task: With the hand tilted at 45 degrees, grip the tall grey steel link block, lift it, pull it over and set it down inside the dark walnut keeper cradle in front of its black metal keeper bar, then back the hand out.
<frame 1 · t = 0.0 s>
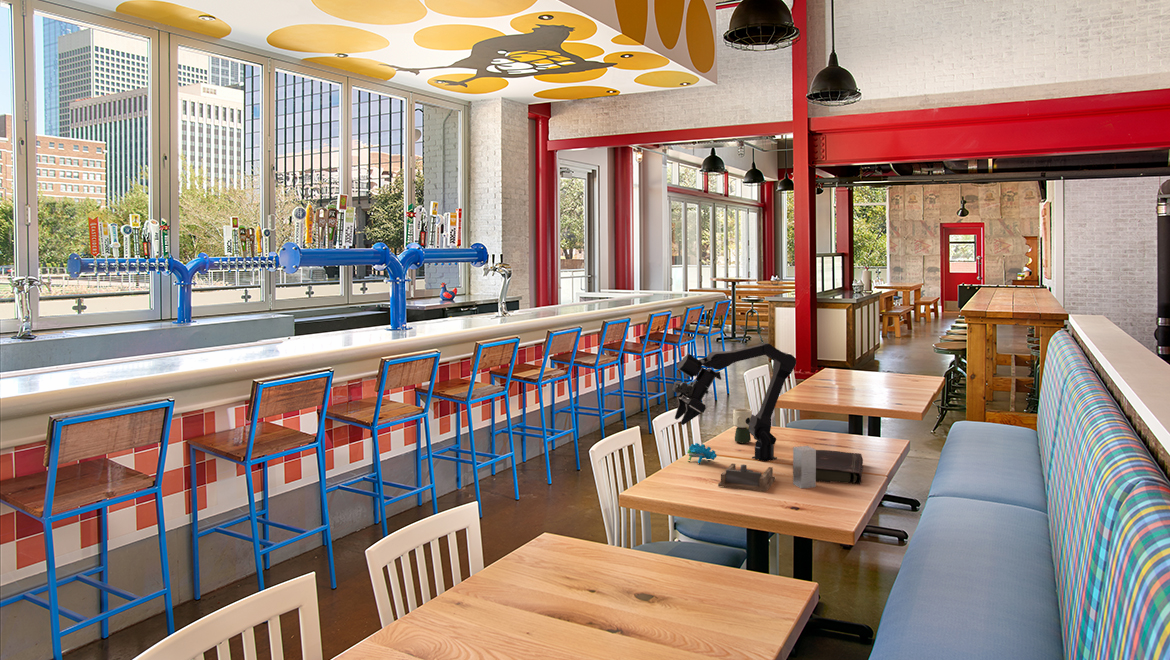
hand: (678, 421, 269), 15 cm above the table, tool tilted 35°, fingers open, 9 cm apart
keeper cradle: (747, 483, 245), on the table
steel link block: (804, 485, 241), on the table
blue spiky toy dinosaur: (701, 462, 271), on the table
diary: (832, 474, 255), on the table
character mug: (742, 443, 299), on the table
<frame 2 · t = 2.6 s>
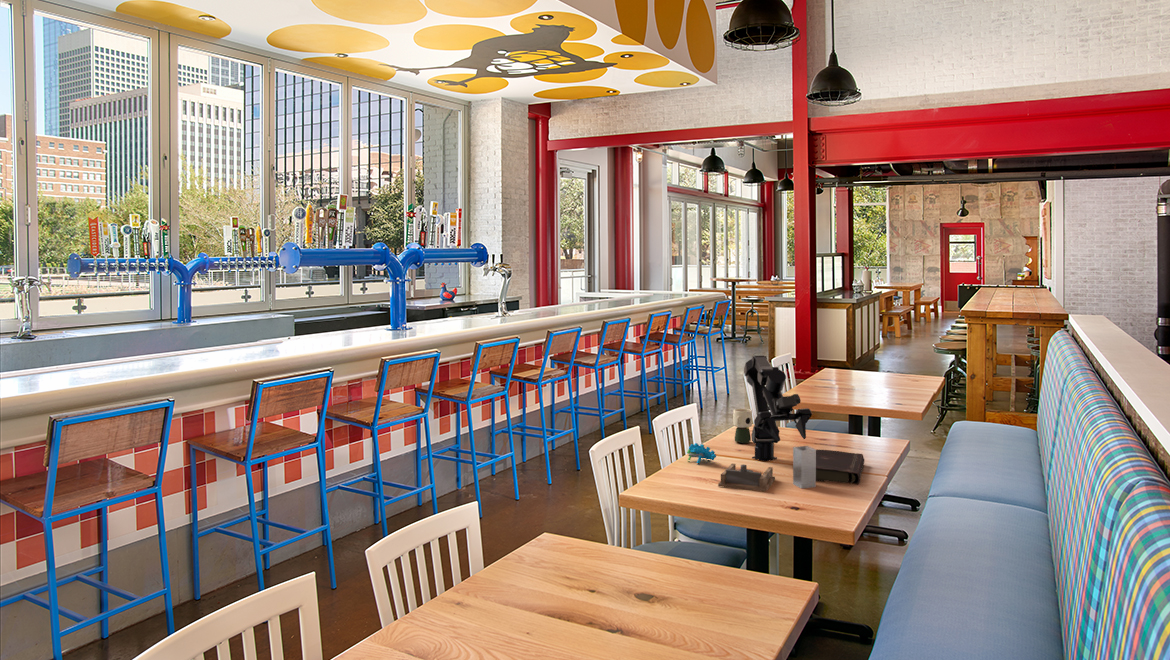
hand: (792, 439, 247), 13 cm above the table, tool tilted 45°, fingers open, 9 cm apart
nothing on the table moved.
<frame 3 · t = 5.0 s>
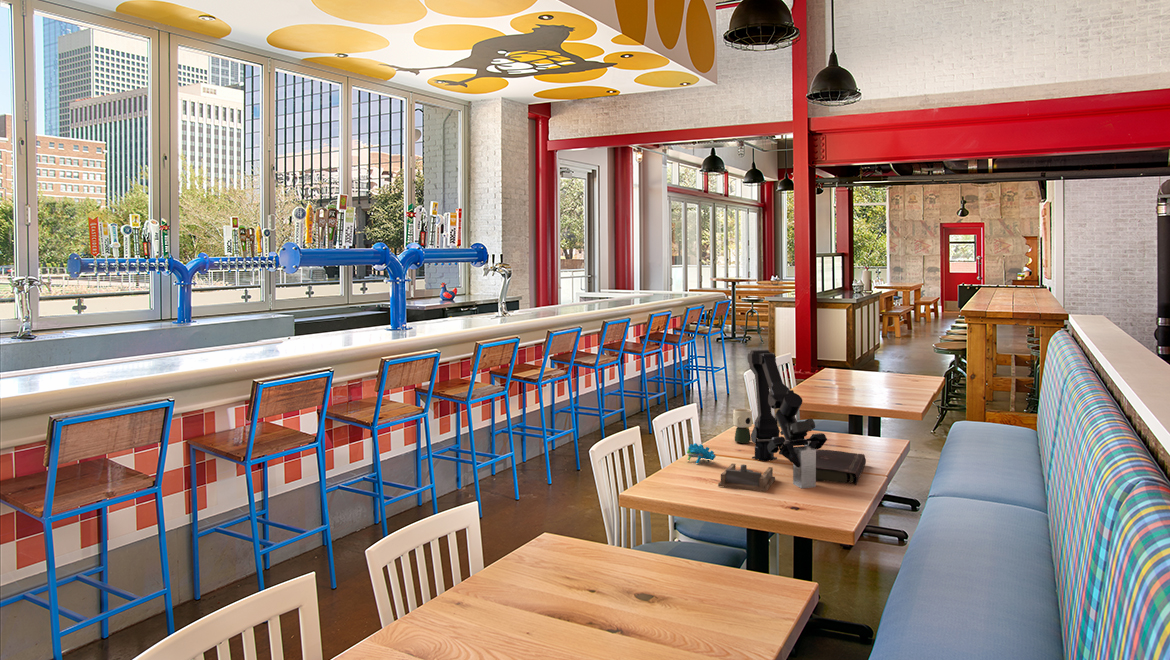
hand: (806, 466, 239), 7 cm above the table, tool tilted 45°, fingers closed on steel link block, 5 cm apart
steel link block: (804, 485, 241), on the table, touching gripper
everything else where it was.
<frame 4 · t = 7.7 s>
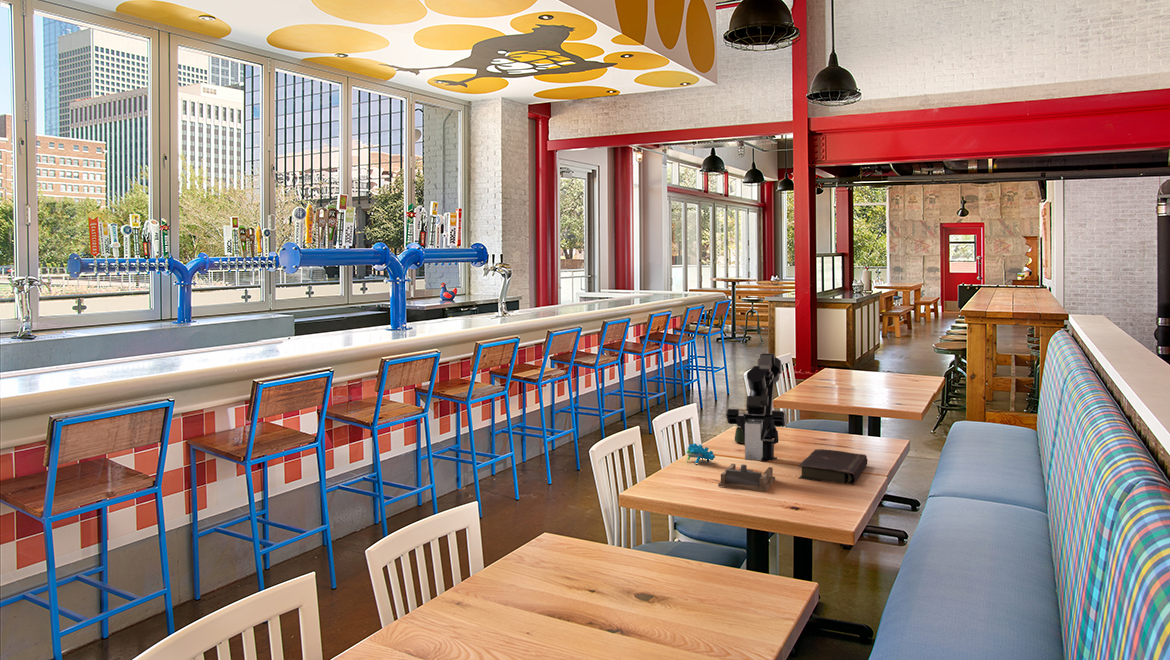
hand: (753, 439, 247), 13 cm above the table, tool tilted 45°, fingers closed on steel link block, 5 cm apart
steel link block: (753, 458, 249), point 7 cm above the table, touching gripper
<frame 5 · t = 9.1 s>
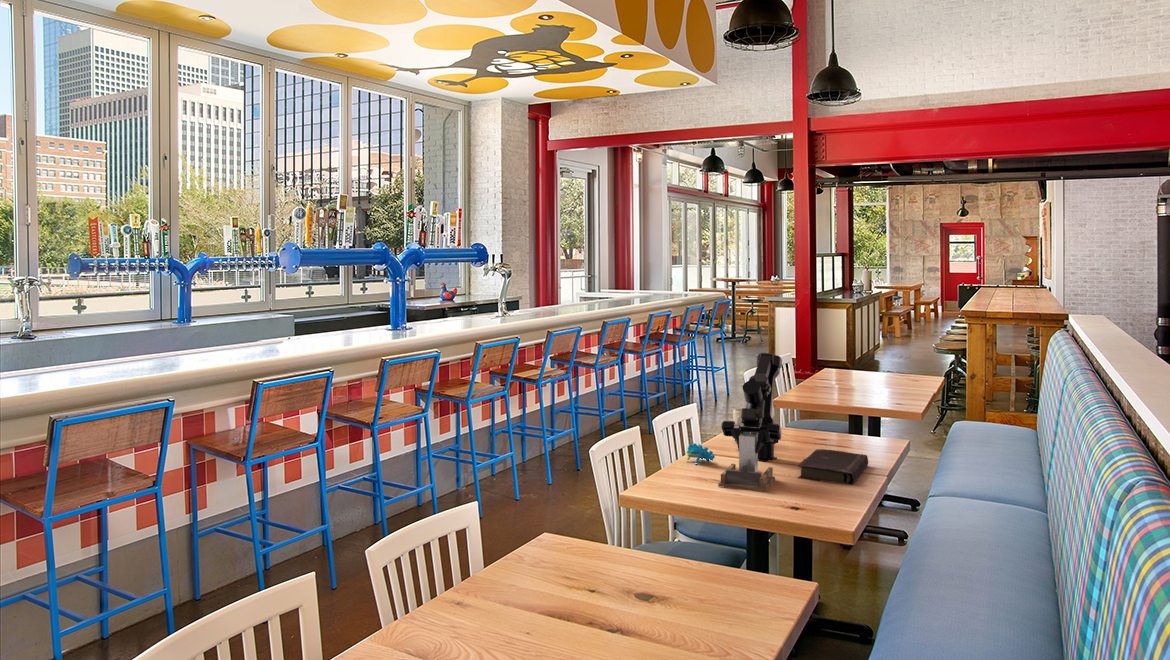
hand: (747, 452, 244), 10 cm above the table, tool tilted 45°, fingers closed on steel link block, 5 cm apart
steel link block: (748, 471, 246), point 3 cm above the table, touching gripper
when the fingers open (8 cm above the table, at t = 10.3 s): steel link block stays where it is, resting on keeper cradle.
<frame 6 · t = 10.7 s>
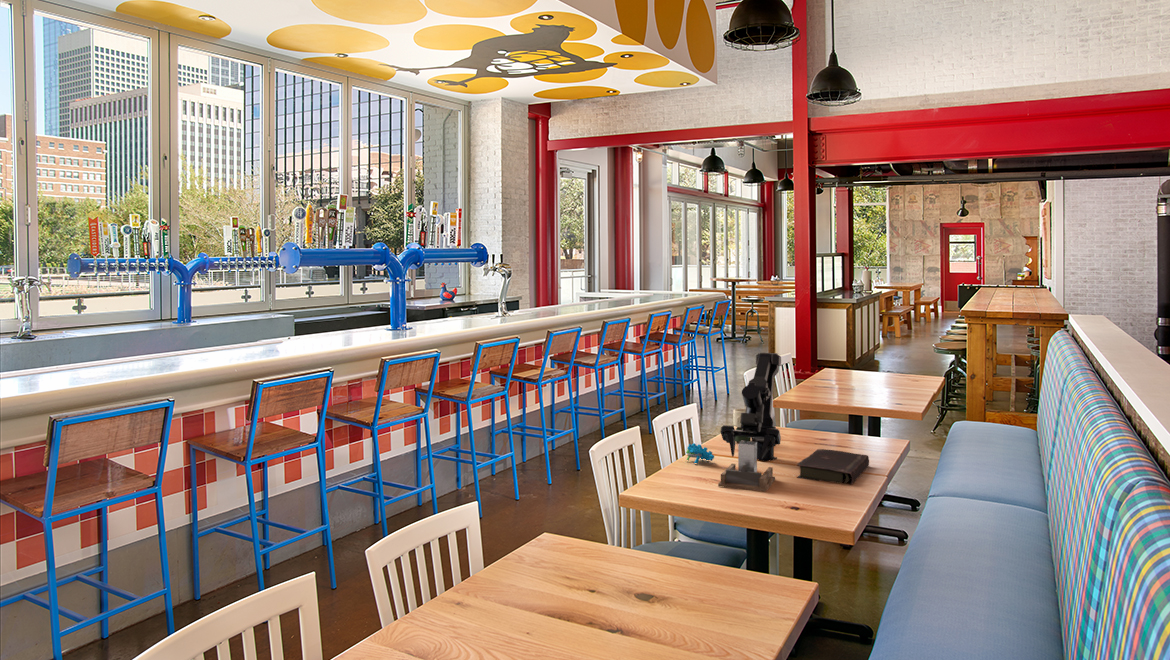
hand: (746, 457, 243), 9 cm above the table, tool tilted 45°, fingers open, 9 cm apart
steel link block: (747, 479, 245), point 1 cm above the table, touching keeper cradle
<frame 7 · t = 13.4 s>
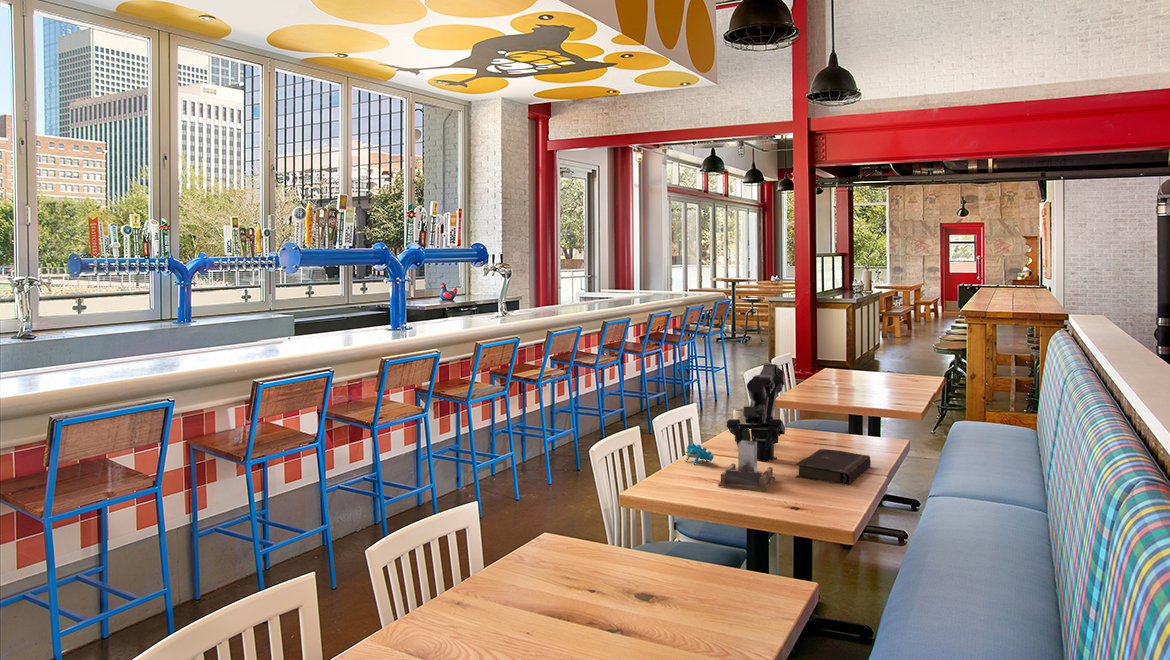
hand: (752, 448, 253), 9 cm above the table, tool tilted 40°, fingers open, 9 cm apart
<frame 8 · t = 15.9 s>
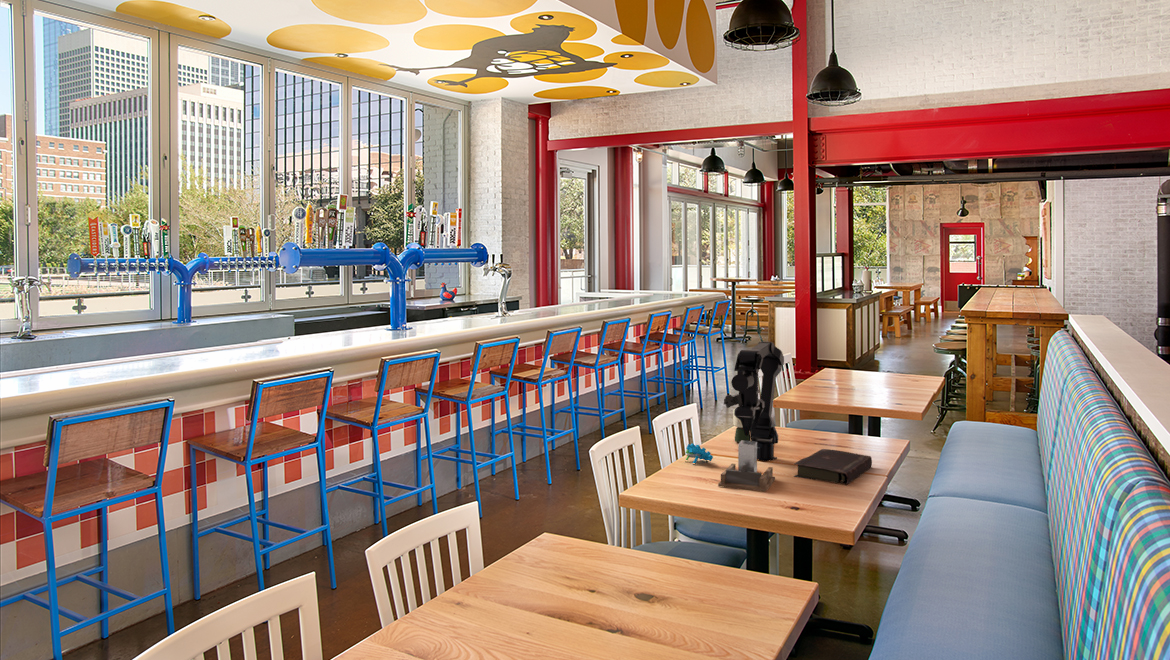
hand: (749, 432, 258), 13 cm above the table, tool pointing down, fingers open, 9 cm apart
at the end: steel link block inside the target area on the keeper cradle (0.0 cm from its centre), point 1.0 cm above the keeper cradle's base; steel link block tilted 0°; the gripper is holding nothing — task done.
